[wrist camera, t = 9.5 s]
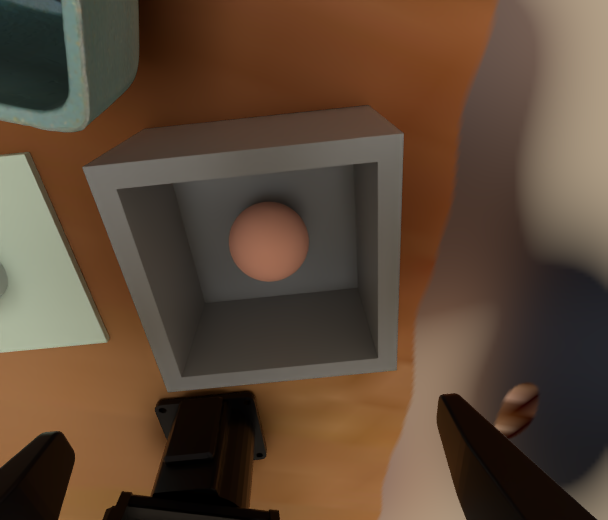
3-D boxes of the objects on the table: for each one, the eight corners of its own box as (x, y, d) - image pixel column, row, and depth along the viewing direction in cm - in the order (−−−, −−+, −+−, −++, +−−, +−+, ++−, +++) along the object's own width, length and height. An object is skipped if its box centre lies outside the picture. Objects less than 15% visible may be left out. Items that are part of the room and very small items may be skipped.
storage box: (370, 292, 22) (396, 370, 17) (196, 309, 22) (167, 392, 17) (368, 105, 17) (403, 133, 12) (144, 128, 17) (82, 167, 12)
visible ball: (310, 253, 20) (314, 293, 17) (240, 260, 20) (232, 301, 17) (303, 186, 18) (307, 216, 15) (227, 194, 18) (215, 226, 15)
